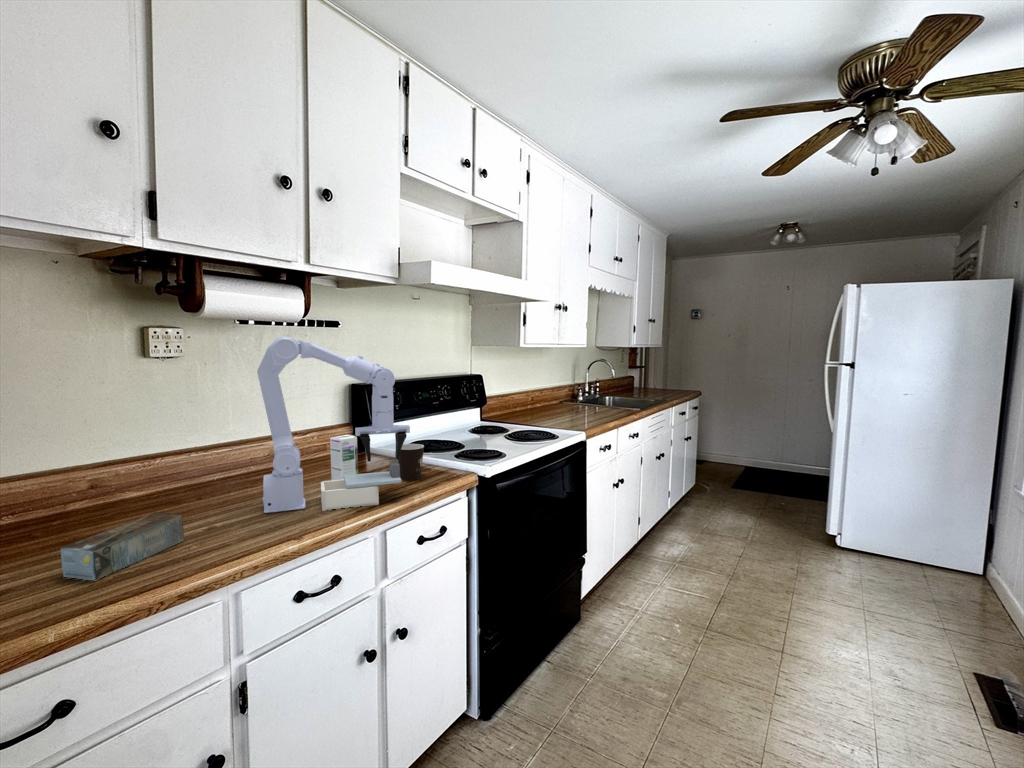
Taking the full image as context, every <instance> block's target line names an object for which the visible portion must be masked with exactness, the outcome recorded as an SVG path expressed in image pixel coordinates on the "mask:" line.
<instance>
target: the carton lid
mask: <svg viewBox="0 0 1024 768" xmlns="http://www.w3.org/2000/svg"><path fill="white" fill-rule="evenodd" d="M344 480H345V484H346V488H354V487H364V486H373V485H378V486H381V485H390V484H393V485H394V484H401V483H402V479H401V478H400V465H399V463H398V460H389V470H388V471H379V472H369V473H368V472H367V473H358V474H354V475H344Z"/></svg>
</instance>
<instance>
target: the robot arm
mask: <svg viewBox="0 0 1024 768" xmlns="http://www.w3.org/2000/svg"><path fill="white" fill-rule="evenodd" d="M299 355H300V359H315V360H319V361H322V362H324V363H327V364H329V365H333V366H336V367H338V368H340V369H342V370H343V374H344V375H345V376H347V377H350V378H352V379H354V380H356V381H357V380H358V381H359V382H362V383H365V384H371V385H372V395H371V414H372V415H371V423H372V424H371V425H370V426H362V427H355V429H354V430H355V434H354V436H356V437H359V438H360V440H361V442H362V444H363V447H364V450H365V454H366V459H367V462H372V457H371V456H372V455H371V436H372V435H383V434H384V435H387V434H394V436H395V453H394V454H395V456H394V457H395V460H398V459H399V456H400V451H401V448H402V445H403V444H405V443H404V442H405V441H406V438H407V434H409V433H411V431H410V430H411V426H410V425H409V424H406V425H405V424H403V425H402V424H398V425H397V424H396V425H395V424H394V420H395V419H394V385H395V382H396V378H395V375H394V373H393V372H392V371H391V370H390V369H388V368H385V367H384V366H381V364H380V363H378V362H376V363H373V362H371V361H368V360H366V359H364V356H362V355H360V354H359V355H358V356H356V355H351V356H349V357H345V356H343V355H341V354H338V353H336V352H333V350H329V349H327V348H324V347H322V346H320V345H319V344H315V343H312V342H310V341H305V340H302V339H301V340H300V339H295V338H293V337H291V336H287V335H286V336H280V337H278V338H276V339H275V340H274V341H272V342H271V344H269V346H268V347H267V349H266V351H265V353H264V355H263V357H262V359H261V362H260V363H259V364H258V365H259V366H258V368H257V371H256V372H257V377H258V382H259V386H260V391H261V395H262V400H263V403H264V408H265V411H266V412H265V413H266V418H267V421H268V426H269V430H270V434H271V439H272V448H273V453H274V458H273V460H272V467H273V470H272V472H271V473H269V474H265V475H263V482H262V483H263V484H262V487H263V488H262V489H263V490H262V491H263V492H262V493H263V497H262V504H263V513H264V514H268V513H269V514H270V513H278V512H286V511H297V510H303V509H305V508H306V498H304V478H303V477H304V476H303V475H304V474H303V468H301V467H300V466H301V451H300V449H299V448H298V447H297V446H296V444H295V440H294V437H293V434H292V430H291V426H290V421H289V416H288V412H287V407H286V403H285V399H284V393H283V390H282V389H283V388H282V386H281V381H280V377H279V376H280V373H281V372H282V371H283V370H284V369H285V367H286V366H287V365H289V364H290V363H292V362H293V361H294V360H296V359H297V358H298V357H299Z"/></svg>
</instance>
